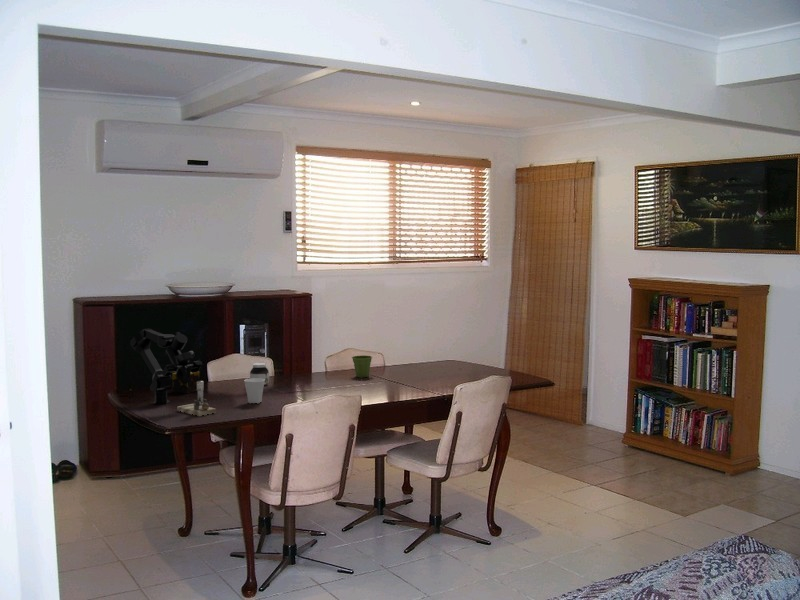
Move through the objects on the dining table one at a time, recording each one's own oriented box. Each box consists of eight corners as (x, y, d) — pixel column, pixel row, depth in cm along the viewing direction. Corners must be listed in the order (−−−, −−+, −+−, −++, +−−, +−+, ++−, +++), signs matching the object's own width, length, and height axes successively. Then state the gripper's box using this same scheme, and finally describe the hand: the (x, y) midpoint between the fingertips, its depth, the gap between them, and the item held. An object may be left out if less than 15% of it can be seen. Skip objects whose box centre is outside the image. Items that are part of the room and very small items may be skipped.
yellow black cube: (200, 390, 418) (200, 371, 418) (188, 393, 409) (187, 374, 408) (185, 388, 423) (184, 370, 422) (172, 392, 414) (171, 373, 413)
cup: (245, 400, 392) (245, 378, 391) (266, 400, 392) (265, 377, 391) (243, 404, 382) (242, 382, 381) (264, 404, 383) (263, 381, 382)
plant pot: (350, 375, 461) (350, 355, 460) (371, 374, 463) (370, 355, 462) (353, 378, 450) (353, 358, 449) (374, 378, 452) (374, 358, 451)
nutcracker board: (177, 410, 369) (177, 397, 369) (194, 407, 376) (193, 395, 376) (199, 416, 358) (199, 403, 357) (216, 413, 364) (216, 400, 364)
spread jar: (258, 387, 425) (258, 365, 424) (242, 385, 431) (242, 364, 430) (273, 384, 435) (273, 362, 434) (257, 382, 441) (257, 361, 440)
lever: (195, 405, 364) (195, 381, 363) (201, 404, 367) (200, 380, 366) (199, 406, 362) (199, 382, 361) (205, 405, 365) (204, 381, 364)
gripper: (164, 347, 364) (179, 374, 358) (199, 343, 378) (214, 369, 372) (155, 363, 370) (169, 389, 364) (190, 358, 384) (204, 384, 377)
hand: (190, 382), depth 369 cm, fingers closed
